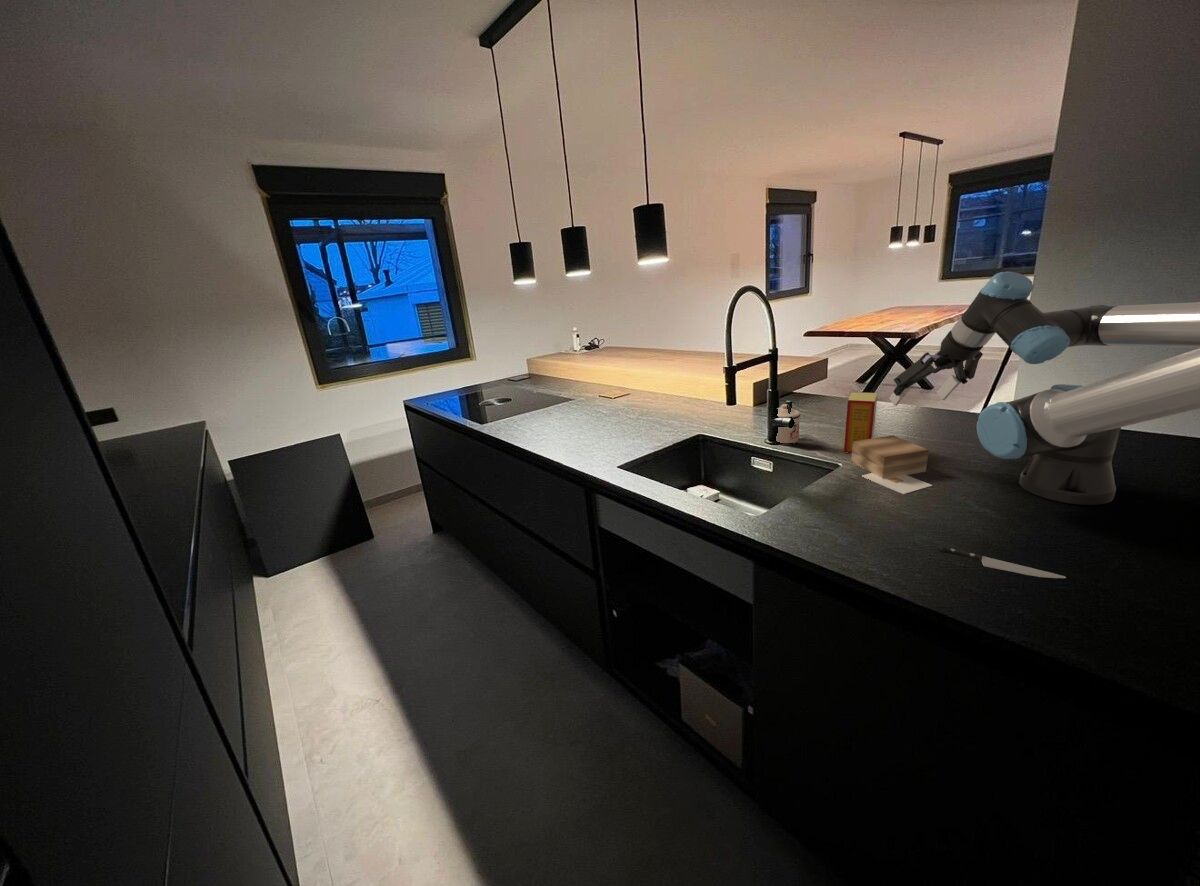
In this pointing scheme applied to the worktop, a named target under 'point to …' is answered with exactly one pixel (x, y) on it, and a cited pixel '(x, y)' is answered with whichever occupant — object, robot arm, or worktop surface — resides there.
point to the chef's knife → (1002, 564)
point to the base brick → (889, 456)
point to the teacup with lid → (785, 432)
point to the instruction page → (898, 483)
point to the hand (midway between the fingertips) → (916, 399)
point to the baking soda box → (860, 418)
